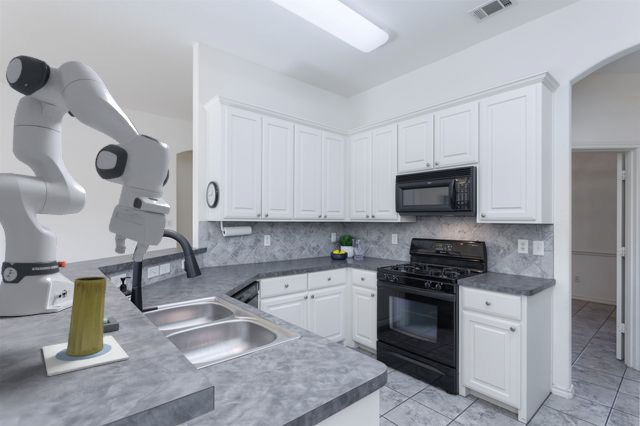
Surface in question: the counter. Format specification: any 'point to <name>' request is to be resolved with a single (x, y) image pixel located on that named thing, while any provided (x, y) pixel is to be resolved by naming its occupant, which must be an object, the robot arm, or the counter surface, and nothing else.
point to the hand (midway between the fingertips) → (127, 257)
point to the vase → (87, 316)
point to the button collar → (111, 325)
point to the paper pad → (81, 357)
